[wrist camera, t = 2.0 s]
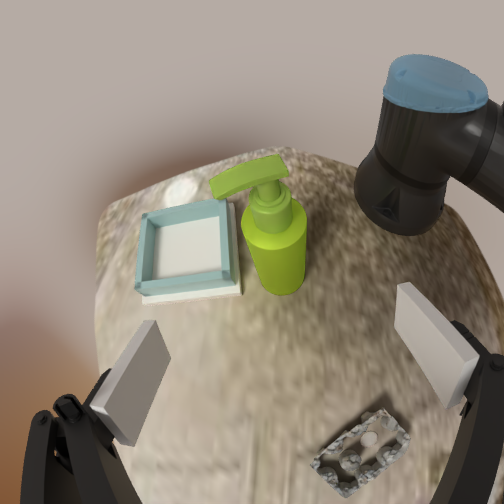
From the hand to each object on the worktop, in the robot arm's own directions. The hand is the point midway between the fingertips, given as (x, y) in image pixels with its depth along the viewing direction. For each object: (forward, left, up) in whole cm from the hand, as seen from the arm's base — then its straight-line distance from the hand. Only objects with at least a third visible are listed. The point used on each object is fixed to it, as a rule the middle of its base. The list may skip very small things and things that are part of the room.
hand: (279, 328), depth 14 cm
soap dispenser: (0, -11, -20) cm, 22 cm away
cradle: (+12, -16, -20) cm, 28 cm away
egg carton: (-7, +14, -20) cm, 25 cm away
